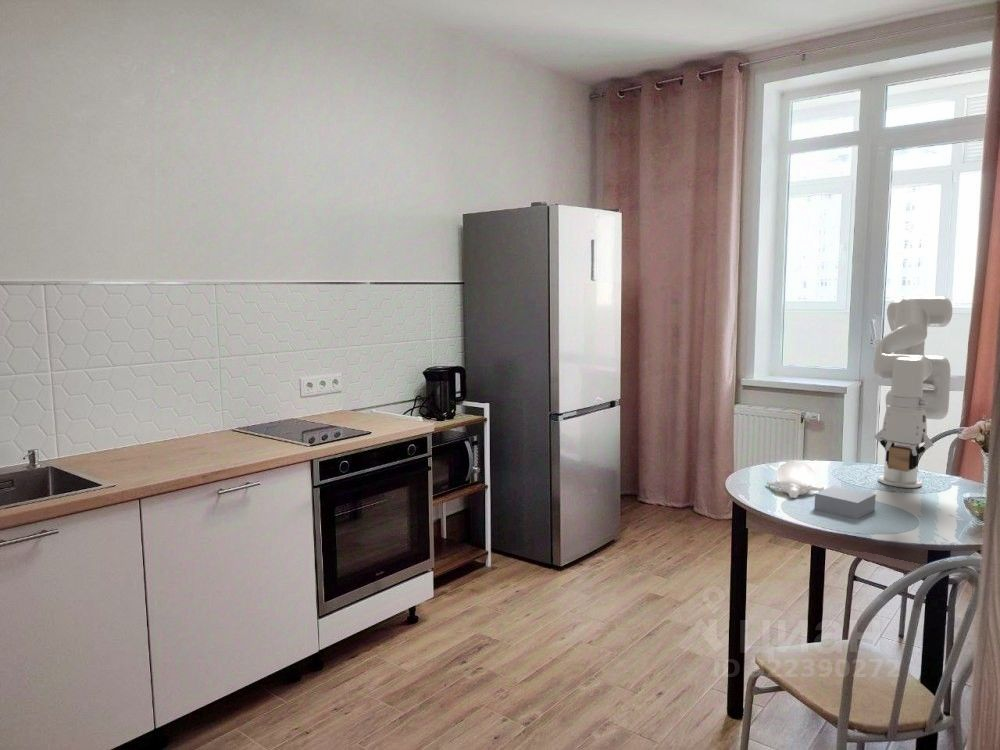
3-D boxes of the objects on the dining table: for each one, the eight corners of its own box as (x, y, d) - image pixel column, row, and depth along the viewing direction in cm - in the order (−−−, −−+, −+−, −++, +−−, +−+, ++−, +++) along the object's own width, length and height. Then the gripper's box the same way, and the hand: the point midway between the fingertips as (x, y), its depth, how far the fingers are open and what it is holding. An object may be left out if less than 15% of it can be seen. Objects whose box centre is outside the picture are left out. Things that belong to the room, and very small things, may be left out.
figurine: (769, 476, 239) (763, 497, 217) (770, 451, 238) (764, 470, 216) (824, 481, 232) (823, 504, 210) (825, 456, 231) (824, 476, 209)
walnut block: (895, 464, 198) (896, 444, 197) (914, 468, 194) (915, 447, 193) (888, 468, 195) (889, 447, 194) (907, 471, 191) (908, 450, 190)
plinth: (833, 501, 212) (833, 485, 211) (874, 511, 203) (875, 494, 202) (814, 509, 204) (815, 493, 203) (856, 520, 195) (857, 502, 194)
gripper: (945, 404, 188) (940, 470, 190) (878, 397, 201) (874, 458, 203) (935, 408, 183) (930, 475, 185) (867, 400, 196) (863, 463, 198)
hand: (901, 465), depth 194 cm, fingers closed on walnut block, 5 cm apart
